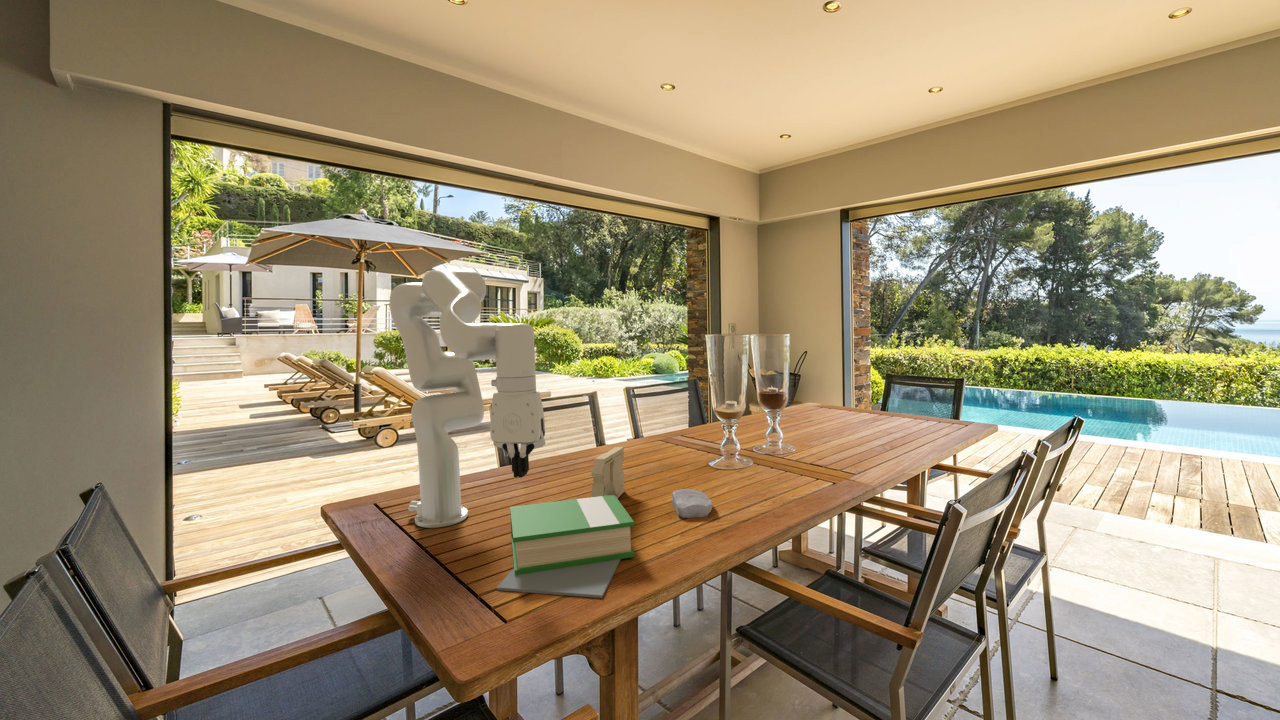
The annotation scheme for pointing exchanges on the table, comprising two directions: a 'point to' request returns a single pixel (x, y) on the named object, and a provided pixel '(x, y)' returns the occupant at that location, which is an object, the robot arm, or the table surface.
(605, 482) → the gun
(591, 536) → the hardback book
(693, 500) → the stone block
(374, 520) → the table surface
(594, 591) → the mat
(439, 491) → the robot arm
